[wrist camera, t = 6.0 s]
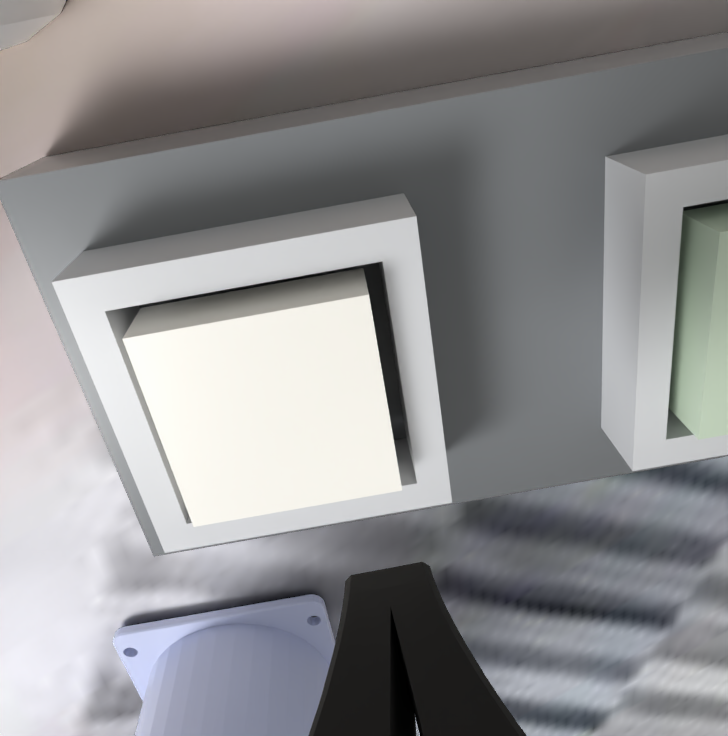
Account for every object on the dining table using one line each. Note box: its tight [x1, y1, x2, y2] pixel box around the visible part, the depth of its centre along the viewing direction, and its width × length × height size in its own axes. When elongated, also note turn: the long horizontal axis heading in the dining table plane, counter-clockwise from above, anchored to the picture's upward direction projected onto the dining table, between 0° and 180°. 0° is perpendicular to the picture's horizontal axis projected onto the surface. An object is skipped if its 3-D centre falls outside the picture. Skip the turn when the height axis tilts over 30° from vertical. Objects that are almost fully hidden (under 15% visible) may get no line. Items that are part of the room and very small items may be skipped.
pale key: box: [122, 268, 402, 527], centre depth 15 cm, size 5×5×2 cm
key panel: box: [0, 32, 728, 556], centre depth 17 cm, size 11×22×5 cm, turn 99°
